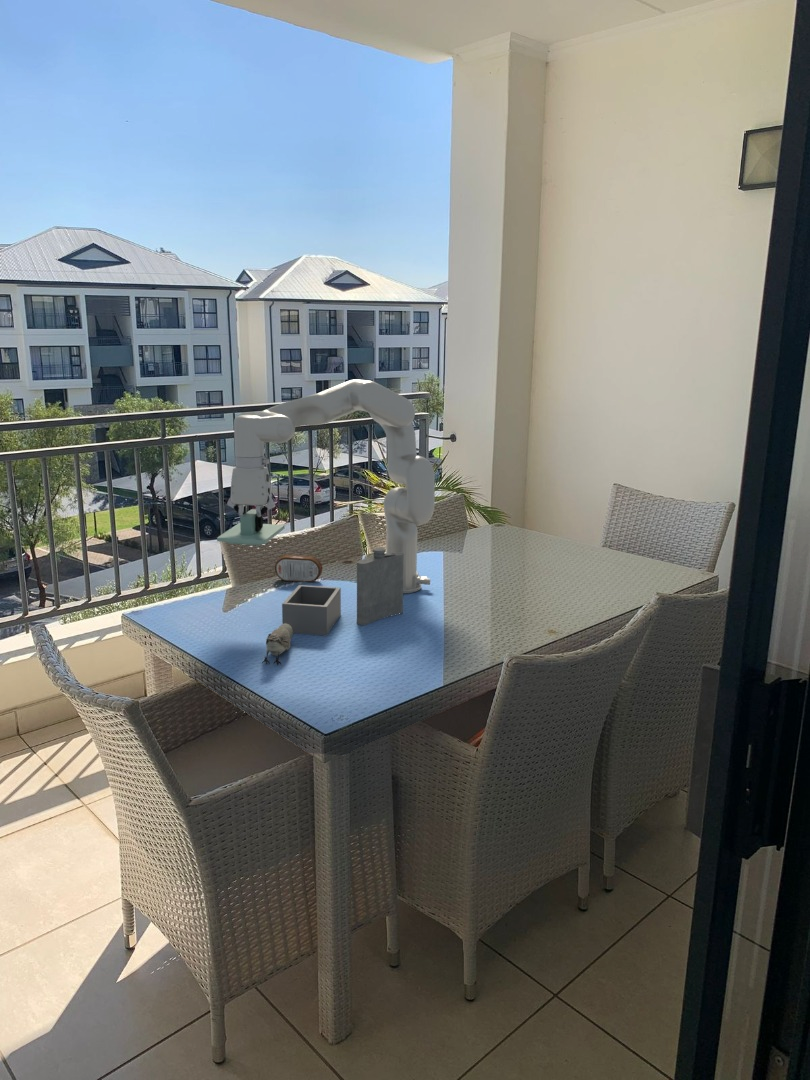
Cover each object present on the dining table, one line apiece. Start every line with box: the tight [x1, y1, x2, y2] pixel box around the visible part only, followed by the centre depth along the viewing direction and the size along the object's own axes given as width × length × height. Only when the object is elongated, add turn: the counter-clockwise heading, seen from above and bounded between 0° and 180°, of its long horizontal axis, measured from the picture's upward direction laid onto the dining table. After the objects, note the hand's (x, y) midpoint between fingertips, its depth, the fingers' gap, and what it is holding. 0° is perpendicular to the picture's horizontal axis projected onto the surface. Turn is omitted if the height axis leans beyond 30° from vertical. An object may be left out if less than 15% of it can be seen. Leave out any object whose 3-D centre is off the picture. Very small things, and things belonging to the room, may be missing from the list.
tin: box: [274, 554, 323, 583], centre depth 249 cm, size 15×3×8 cm, turn 84°
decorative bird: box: [261, 623, 294, 666], centre depth 194 cm, size 5×16×7 cm, turn 173°
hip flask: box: [356, 546, 404, 626], centre depth 218 cm, size 16×4×20 cm, turn 133°
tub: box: [281, 584, 342, 637], centre depth 214 cm, size 12×16×8 cm
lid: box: [216, 508, 286, 547], centre depth 212 cm, size 13×17×7 cm
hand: (251, 529), depth 213 cm, fingers closed on lid, 3 cm apart
